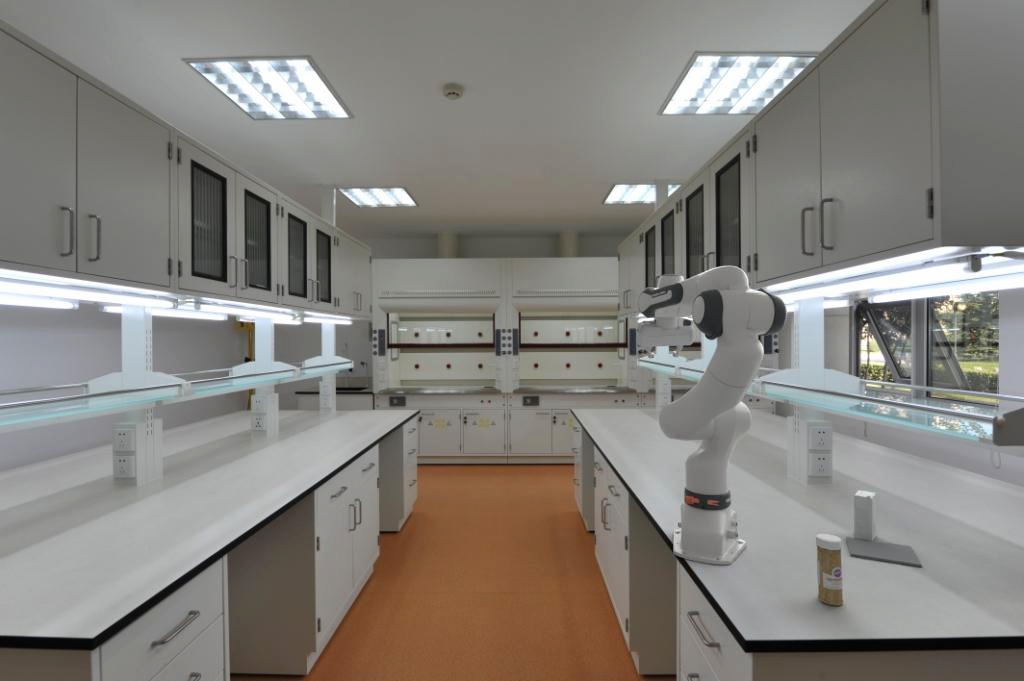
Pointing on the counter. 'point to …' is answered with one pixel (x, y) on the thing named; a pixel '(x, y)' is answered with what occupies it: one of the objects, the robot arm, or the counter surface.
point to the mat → (882, 551)
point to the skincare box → (865, 515)
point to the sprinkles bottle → (829, 569)
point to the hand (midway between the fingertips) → (663, 357)
